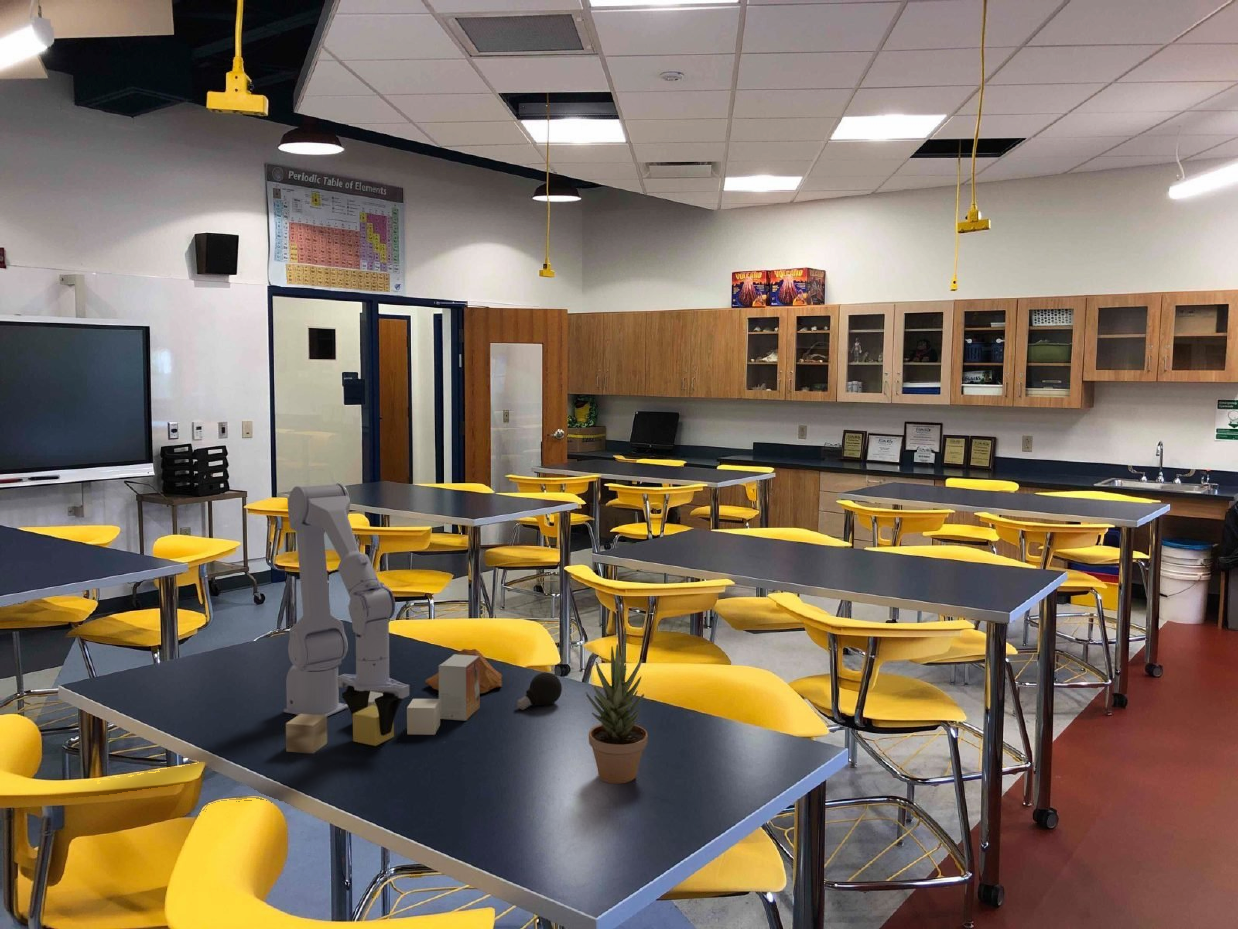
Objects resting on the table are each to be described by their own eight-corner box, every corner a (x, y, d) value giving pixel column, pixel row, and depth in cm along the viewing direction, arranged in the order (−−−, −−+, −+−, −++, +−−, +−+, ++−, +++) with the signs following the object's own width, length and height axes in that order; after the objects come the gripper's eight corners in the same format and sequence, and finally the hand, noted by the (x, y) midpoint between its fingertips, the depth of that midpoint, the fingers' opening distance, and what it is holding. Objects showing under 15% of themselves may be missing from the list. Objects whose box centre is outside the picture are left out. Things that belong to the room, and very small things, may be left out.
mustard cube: (353, 741, 169) (352, 713, 168) (371, 732, 173) (371, 705, 173) (375, 746, 167) (375, 718, 166) (393, 736, 171) (393, 709, 171)
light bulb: (505, 687, 186) (546, 661, 191) (511, 712, 189) (551, 685, 194) (523, 702, 182) (565, 675, 187) (530, 727, 185) (570, 699, 190)
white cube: (407, 734, 172) (406, 707, 172) (413, 725, 177) (413, 698, 177) (434, 735, 172) (434, 708, 172) (440, 725, 177) (439, 699, 177)
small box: (466, 721, 179) (465, 667, 178) (438, 719, 180) (437, 665, 179) (480, 707, 187) (480, 655, 186) (453, 705, 188) (453, 653, 187)
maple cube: (286, 751, 164) (285, 723, 164) (300, 741, 169) (300, 713, 168) (313, 754, 163) (312, 725, 163) (327, 743, 168) (326, 715, 168)
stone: (513, 692, 204) (520, 656, 200) (469, 728, 193) (475, 691, 188) (460, 659, 210) (466, 623, 205) (414, 692, 198) (419, 655, 194)
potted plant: (627, 793, 148) (629, 638, 146) (577, 780, 153) (577, 629, 151) (659, 772, 157) (661, 624, 154) (610, 759, 162) (611, 616, 160)
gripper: (324, 656, 168) (326, 731, 169) (390, 668, 162) (391, 745, 163) (352, 647, 174) (353, 719, 176) (416, 657, 168) (417, 732, 169)
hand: (373, 731), depth 170 cm, fingers closed on mustard cube, 5 cm apart
